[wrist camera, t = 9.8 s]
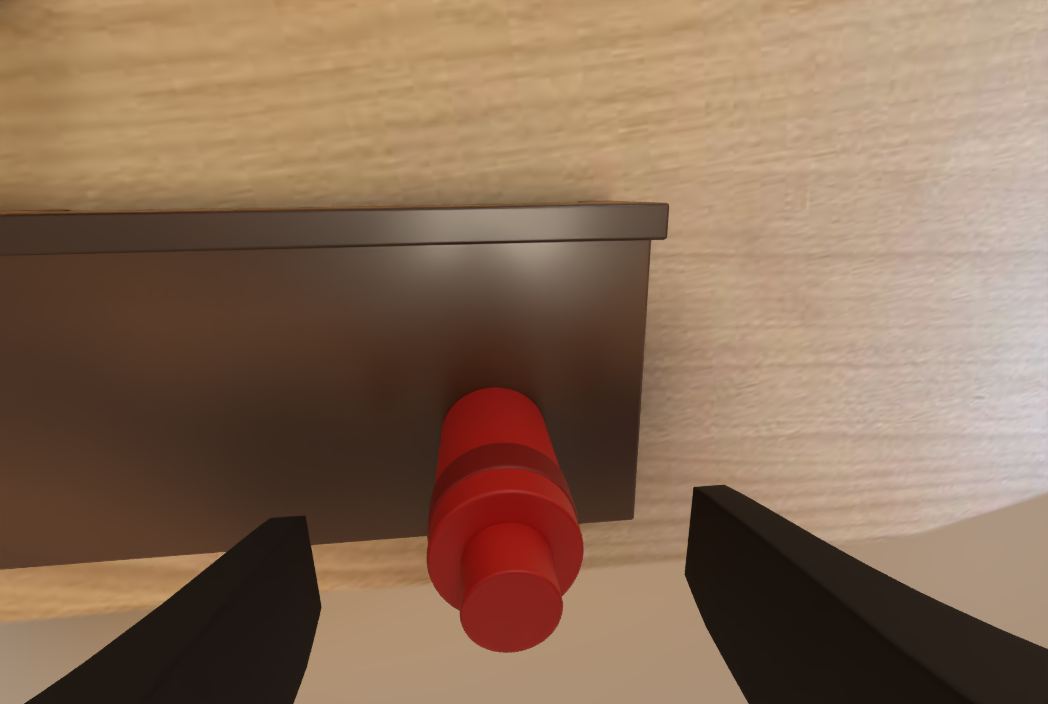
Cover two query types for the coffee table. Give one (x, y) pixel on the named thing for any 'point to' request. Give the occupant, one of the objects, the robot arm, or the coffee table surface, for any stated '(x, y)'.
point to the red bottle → (502, 522)
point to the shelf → (301, 365)
